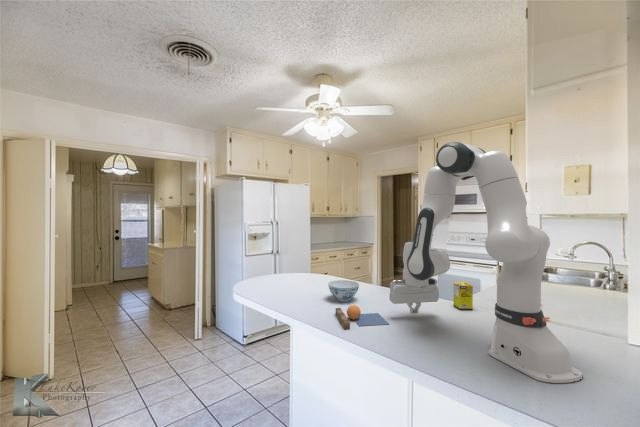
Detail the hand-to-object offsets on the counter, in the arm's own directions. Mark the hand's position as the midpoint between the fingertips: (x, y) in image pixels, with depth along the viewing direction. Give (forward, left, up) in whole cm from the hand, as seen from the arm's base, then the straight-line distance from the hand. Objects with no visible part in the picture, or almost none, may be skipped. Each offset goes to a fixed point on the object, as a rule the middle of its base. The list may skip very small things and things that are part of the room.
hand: (413, 313), depth 118 cm
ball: (+1, +25, +1) cm, 25 cm away
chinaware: (+27, +23, -2) cm, 36 cm away
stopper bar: (0, +30, -2) cm, 30 cm away
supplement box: (+7, -27, -2) cm, 28 cm away
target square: (0, +19, -2) cm, 19 cm away
